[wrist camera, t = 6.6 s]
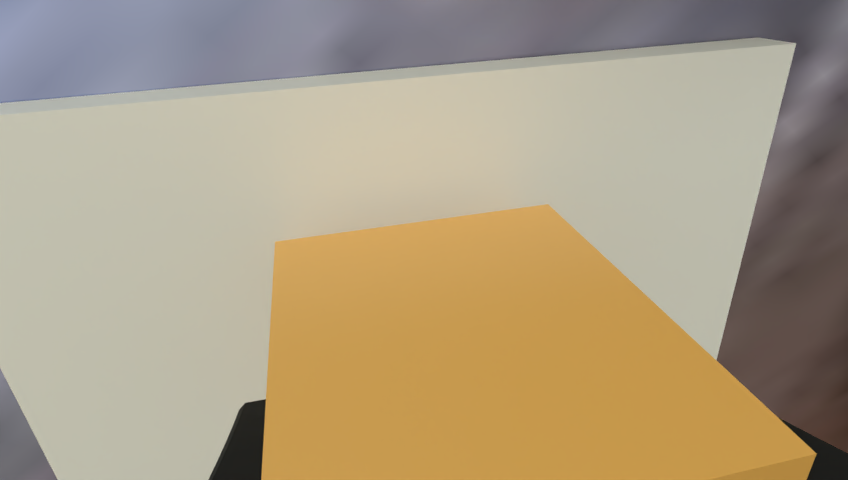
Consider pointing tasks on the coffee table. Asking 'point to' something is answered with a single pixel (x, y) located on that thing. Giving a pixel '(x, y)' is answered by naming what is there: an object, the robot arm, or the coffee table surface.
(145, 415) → the board
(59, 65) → the coffee table surface
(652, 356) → the amber foam cube
